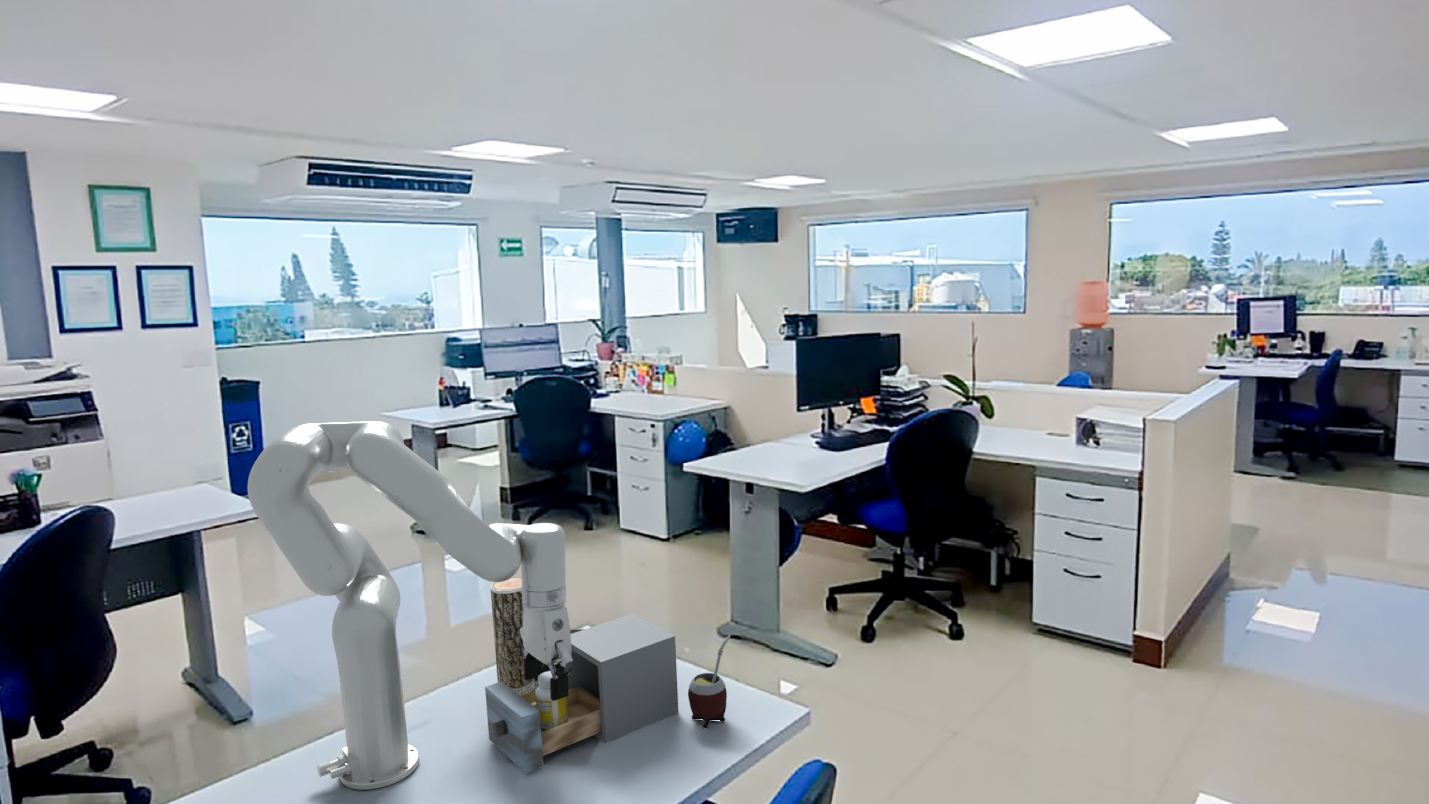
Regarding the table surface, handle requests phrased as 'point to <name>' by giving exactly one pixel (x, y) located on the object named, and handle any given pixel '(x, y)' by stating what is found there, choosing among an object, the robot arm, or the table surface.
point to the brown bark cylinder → (510, 637)
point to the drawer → (537, 724)
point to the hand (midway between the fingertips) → (546, 687)
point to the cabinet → (626, 673)
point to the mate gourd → (708, 694)
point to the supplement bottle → (549, 704)
